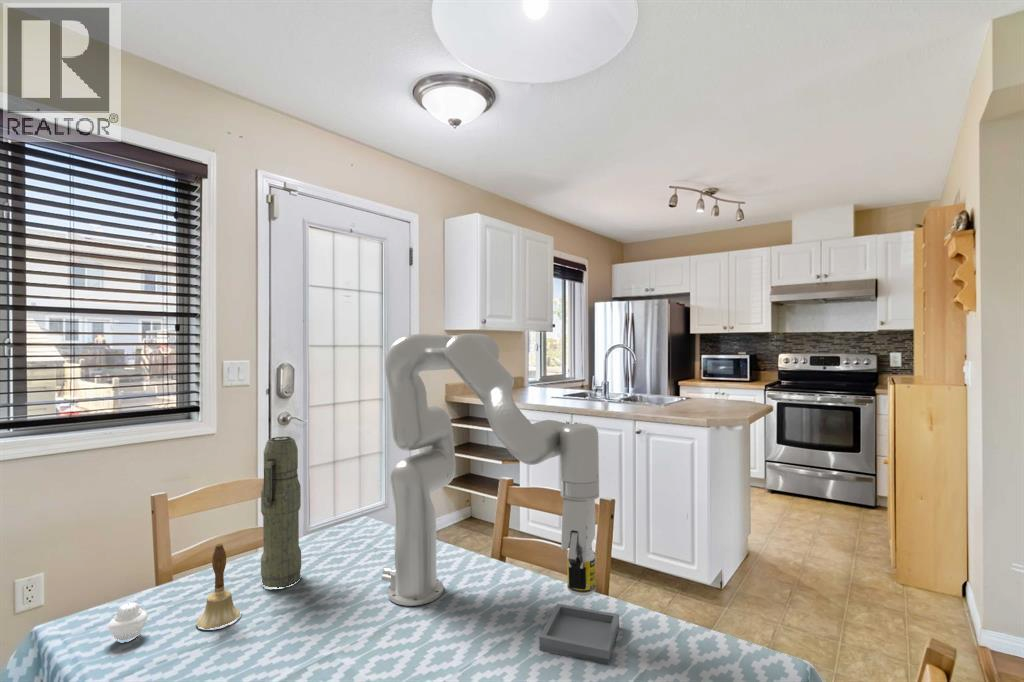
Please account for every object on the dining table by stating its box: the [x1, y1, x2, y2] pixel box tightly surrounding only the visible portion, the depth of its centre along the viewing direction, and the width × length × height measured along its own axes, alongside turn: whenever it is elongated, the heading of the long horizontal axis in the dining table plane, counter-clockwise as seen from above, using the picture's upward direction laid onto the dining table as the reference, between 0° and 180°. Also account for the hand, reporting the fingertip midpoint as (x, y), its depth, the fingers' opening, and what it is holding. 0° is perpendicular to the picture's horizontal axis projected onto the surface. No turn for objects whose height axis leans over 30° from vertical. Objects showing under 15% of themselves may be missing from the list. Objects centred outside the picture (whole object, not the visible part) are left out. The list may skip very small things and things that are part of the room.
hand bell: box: [196, 543, 241, 629], centre depth 106 cm, size 8×8×16 cm
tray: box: [538, 603, 620, 666], centre depth 99 cm, size 13×13×2 cm
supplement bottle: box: [566, 545, 596, 596], centre depth 99 cm, size 5×5×10 cm
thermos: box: [260, 436, 302, 588], centre depth 124 cm, size 9×12×35 cm
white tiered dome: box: [108, 602, 149, 641], centre depth 100 cm, size 6×6×7 cm
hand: (581, 579), depth 99 cm, fingers closed on supplement bottle, 5 cm apart
